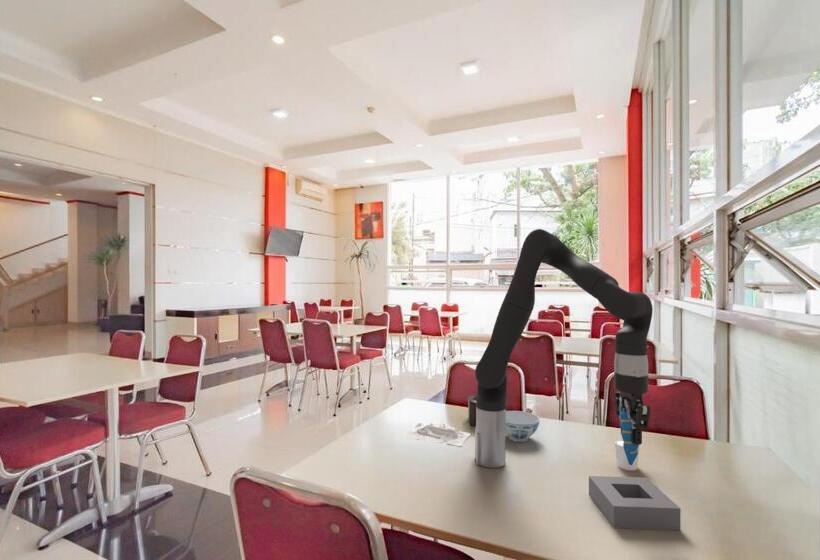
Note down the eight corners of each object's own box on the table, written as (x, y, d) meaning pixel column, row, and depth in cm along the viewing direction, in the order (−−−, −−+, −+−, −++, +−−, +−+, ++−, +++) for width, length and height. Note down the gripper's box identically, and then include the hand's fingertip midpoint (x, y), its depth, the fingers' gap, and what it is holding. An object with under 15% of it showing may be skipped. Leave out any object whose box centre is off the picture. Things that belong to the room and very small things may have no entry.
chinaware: (544, 436, 152) (544, 415, 152) (532, 449, 139) (533, 427, 139) (505, 428, 160) (505, 408, 160) (491, 440, 147) (491, 418, 148)
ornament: (615, 460, 105) (615, 401, 105) (634, 460, 105) (634, 401, 105) (627, 469, 99) (627, 407, 100) (647, 469, 100) (647, 407, 100)
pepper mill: (497, 427, 161) (498, 381, 161) (469, 426, 162) (469, 380, 162) (492, 414, 177) (493, 373, 177) (466, 414, 177) (467, 372, 178)
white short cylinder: (642, 472, 123) (642, 449, 123) (618, 470, 125) (618, 447, 125) (635, 462, 130) (635, 440, 130) (611, 460, 131) (611, 438, 131)
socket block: (613, 527, 95) (613, 506, 95) (588, 494, 110) (588, 475, 110) (680, 530, 94) (680, 508, 94) (646, 496, 109) (646, 477, 109)
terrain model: (415, 428, 164) (415, 415, 164) (472, 432, 157) (472, 419, 157) (401, 443, 148) (401, 429, 148) (464, 448, 141) (464, 434, 141)
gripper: (603, 365, 110) (603, 429, 110) (629, 377, 95) (629, 451, 95) (632, 366, 109) (632, 429, 109) (662, 378, 95) (662, 451, 95)
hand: (631, 439), depth 102 cm, fingers closed on ornament, 5 cm apart
